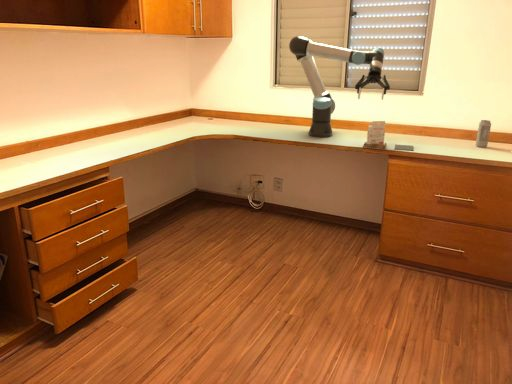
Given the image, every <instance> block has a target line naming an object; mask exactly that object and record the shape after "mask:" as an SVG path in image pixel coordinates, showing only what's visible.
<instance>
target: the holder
mask: <svg viewBox="0 0 512 384" xmlns="http://www.w3.org/2000/svg"><path fill="white" fill-rule="evenodd" d="M386 147H387V142H384V144H372V143H367V141H364V143H363V145H362V148H363V149H364V148H365V149H376V150H386Z"/></svg>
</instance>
